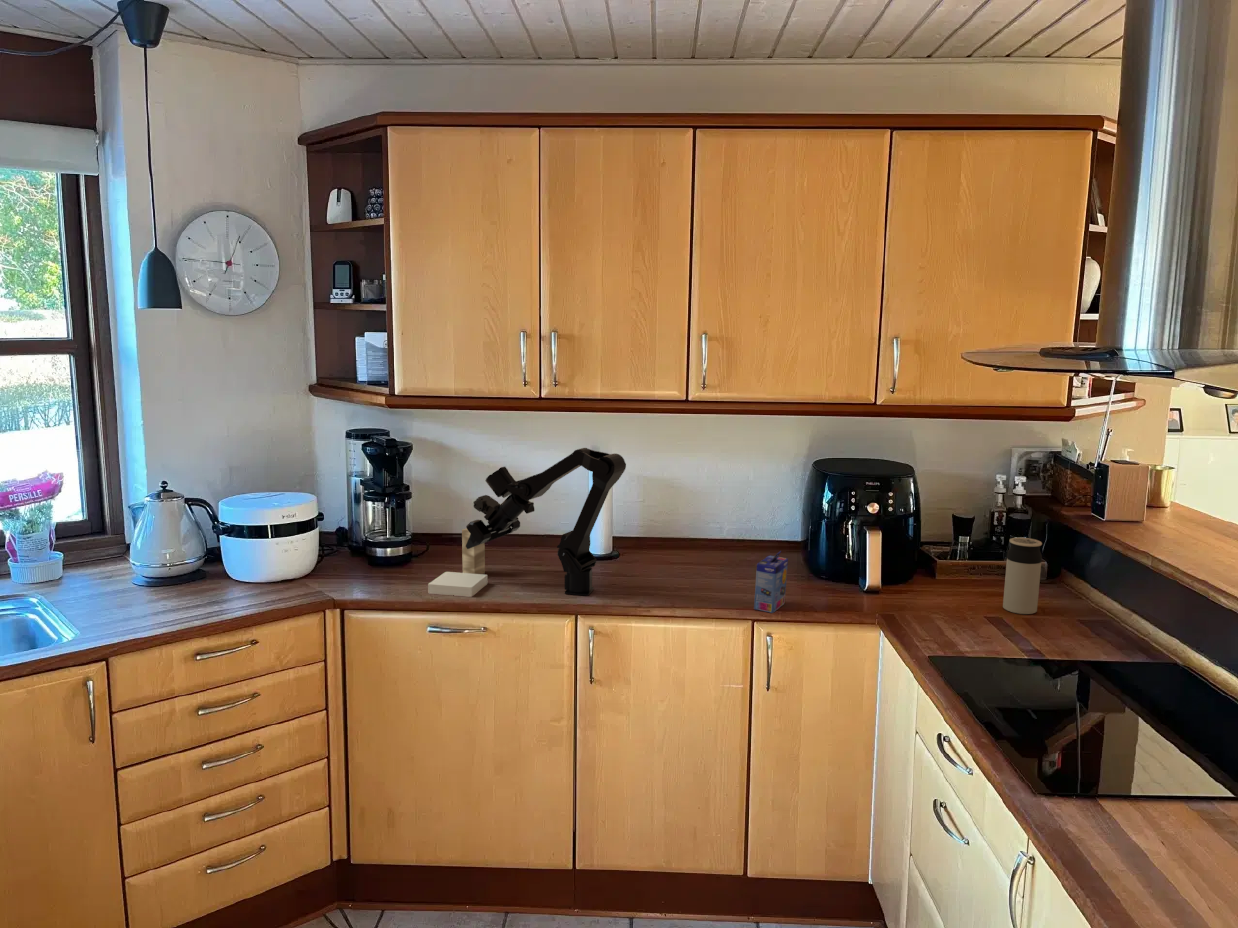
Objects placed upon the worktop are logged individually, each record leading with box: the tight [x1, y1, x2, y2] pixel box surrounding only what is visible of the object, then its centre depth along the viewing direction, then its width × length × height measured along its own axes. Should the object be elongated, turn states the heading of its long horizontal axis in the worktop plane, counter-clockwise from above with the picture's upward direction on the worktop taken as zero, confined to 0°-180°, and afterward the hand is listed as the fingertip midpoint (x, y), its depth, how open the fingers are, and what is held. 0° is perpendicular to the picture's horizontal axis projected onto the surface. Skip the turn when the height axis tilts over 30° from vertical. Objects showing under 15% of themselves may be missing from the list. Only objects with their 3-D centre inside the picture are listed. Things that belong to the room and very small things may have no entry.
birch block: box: [461, 527, 486, 574], centre depth 257 cm, size 4×5×13 cm
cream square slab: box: [427, 571, 489, 598], centre depth 245 cm, size 12×12×3 cm
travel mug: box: [1002, 537, 1043, 615], centre depth 231 cm, size 8×8×18 cm
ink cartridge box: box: [753, 550, 789, 614], centre depth 232 cm, size 10×6×14 cm, turn 152°
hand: (476, 543), depth 257 cm, fingers open, 9 cm apart
